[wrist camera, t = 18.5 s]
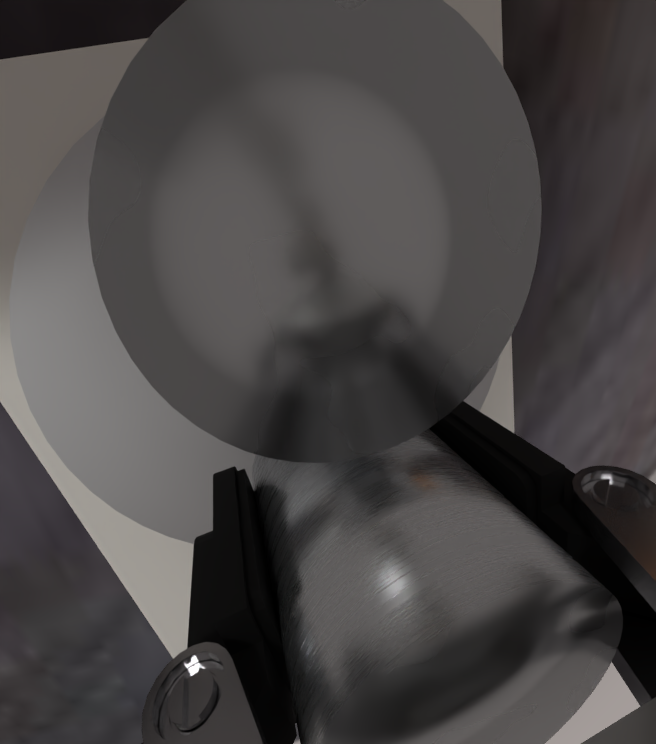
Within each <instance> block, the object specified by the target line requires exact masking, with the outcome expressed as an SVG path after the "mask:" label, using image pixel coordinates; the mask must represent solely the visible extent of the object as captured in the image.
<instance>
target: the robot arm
mask: <svg viewBox="0 0 656 744" xmlns="http://www.w3.org/2000/svg"><path fill="white" fill-rule="evenodd" d="M429 429H430V430H431V431H432V432H433V433H434V434H436V435H437V436H438V437H439V438H440V439H441V440H442V441H443V442H444V443H446V444H447V445H448V446H449V447H450V448H451V449H452V450H453V451H454V452H456V453H457V454H458V455H459V456H460V457H461V458H462V459H463V460H464V461H465V462H467V463H468V464H469V465H470V466H471V467H472V468H473V469H474V470H475V471H477V472H478V473H479V474H480V475H481V476H482V477H483V478H484V479H485V480H487V481H488V482H489V483H490V484H491V485H492V486H493V487H494V488H495V489H497V490H498V491H499V492H500V493H501V494H502V495H503V496H504V497H505V498H507V499H508V500H509V501H510V502H511V503H512V504H513V505H514V506H515V507H517V508H518V509H519V510H520V511H521V512H522V513H523V514H524V515H525V516H527V517H528V518H529V519H530V520H531V521H532V522H533V523H534V524H535V525H537V526H538V527H539V528H540V529H541V530H542V531H543V532H544V533H545V534H547V535H548V536H549V537H550V538H551V539H552V540H553V541H554V542H555V543H557V544H558V545H559V546H560V547H561V548H562V549H563V550H564V551H565V552H567V553H568V554H569V555H570V556H571V557H572V558H573V559H574V560H575V561H577V562H578V563H579V564H580V565H581V566H582V567H583V568H584V569H585V570H587V571H588V572H589V573H590V574H591V575H592V576H593V577H594V578H595V579H597V580H598V581H599V582H600V583H601V584H602V585H603V586H604V587H605V588H607V589H608V590H609V591H610V592H611V593H612V594H613V595H614V596H615V597H616V598H617V600H618V602H619V604H620V606H621V609H622V615H623V629H622V634H621V638H620V642H619V645H618V647H617V650H616V653H615V655H614V657H613V659H612V663H613V664H614V666H615V667H616V669H617V671H618V672H619V674H620V675H621V677H622V678H623V680H624V681H625V683H626V685H627V686H628V687H629V689H630V691H631V692H632V694H633V695H634V697H635V698H636V700H637V701H638V703H639V705H640V706H641V707H639V708H638V709H636V710H634V711H633V712H631V713H630V714H628V715H626V716H625V717H623V718H622V719H620V720H618V721H617V722H615V723H614V724H612V725H610V726H609V727H607V728H605V729H604V730H602V731H601V732H599V733H597V734H596V735H594V736H593V737H591V738H589V739H588V740H586V741H585V742H583V743H581V744H656V484H655V483H653V482H652V481H650V480H649V479H647V478H645V477H644V476H642V475H640V474H637V473H635V472H633V471H630V470H627V469H623V468H619V467H612V466H592V467H588V468H585V469H582V470H580V471H579V472H578V473H576V474H574V473H573V472H571V471H570V470H568V469H567V468H565V466H564V465H563V464H561V463H560V462H558V461H556V460H555V459H553V458H552V457H550V456H549V455H547V454H545V453H544V452H542V451H541V450H539V449H538V448H536V447H534V446H533V445H531V444H530V443H528V442H527V441H525V440H524V439H522V438H520V437H519V436H517V435H516V434H514V433H513V432H511V431H509V430H508V429H506V428H505V427H503V426H502V425H500V424H499V423H497V422H495V421H494V420H492V419H491V418H489V417H488V416H486V415H484V414H483V413H481V412H480V411H478V410H477V409H475V408H474V407H472V406H470V405H469V404H467V403H466V402H464V401H462V402H461V403H460V404H459V405H458V406H457V407H456V408H455V409H453V410H452V411H451V412H450V413H449V414H448V415H446V416H445V417H444V418H442V419H441V420H440V421H438V422H437V423H436V424H434V425H433V426H432V427H430V428H429ZM295 723H297V721H296V716H295V711H294V706H293V700H292V695H291V690H290V684H289V679H288V674H287V668H286V663H285V658H284V652H283V645H282V640H281V634H280V629H279V624H278V618H277V613H276V607H275V602H274V597H273V591H272V586H271V580H270V575H269V570H268V564H267V559H266V554H265V548H264V543H263V537H262V532H261V527H260V521H259V516H258V510H257V505H256V500H255V494H254V490H253V488H252V485H251V483H250V480H249V478H248V475H247V473H246V471H245V469H242V470H239V471H237V469H236V467H235V466H234V467H231V468H228V469H225V470H223V471H220V472H217V473H215V474H213V531H210V532H208V533H205V534H203V535H200V536H198V537H196V538H195V541H194V549H193V564H192V580H191V596H190V612H189V627H188V643H187V649H186V650H184V651H182V652H181V653H179V654H178V655H177V656H176V657H175V658H174V659H173V660H171V661H170V662H169V663H168V664H167V665H166V667H165V668H164V669H163V671H162V672H161V673H160V674H159V676H158V677H157V678H156V680H155V682H154V684H153V686H152V688H151V690H150V692H149V693H148V695H147V699H146V702H145V706H144V709H143V712H142V738H143V743H142V744H293V743H294V740H295V738H296V736H297V734H296V728H295Z"/></svg>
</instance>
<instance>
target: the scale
mask: <svg viewBox="0 0 656 744" xmlns="http://www.w3.org/2000/svg"><path fill="white" fill-rule="evenodd" d="M443 1H444V2H446V3H447V4H448V5H449V6H451V7H452V8H453V9H455V10H456V11H457V12H458V13H459V14H460V15H461V16H462V17H463V18H464V19H465V20H466V21H467V22H468V23H469V24H470V25H471V26H472V27H473V28H474V29H475V30H476V32H477V33H478V34H479V35H480V36H481V37H482V38H483V39H484V41H485V42H486V44H487V45H488V46H489V48H490V49H491V51H492V52H493V53H494V55H495V56H496V58H497V59H498V60H499V62H500V63H501V65H502V66H503V44H502V12H501V0H443ZM147 40H148V38H145V39H138V40H131V41H124V42H117V43H111V44H104V45H97V46H90V47H83V48H76V49H69V50H63V51H56V52H49V53H42V54H35V55H28V56H21V57H15V58H8V59H1V60H0V402H1V404H2V405H3V406H4V408H5V409H6V411H7V412H8V414H9V415H10V417H11V418H12V420H13V421H14V423H15V424H16V426H17V427H18V429H19V430H20V432H21V433H22V435H23V436H24V438H25V439H26V441H27V442H28V444H29V445H30V447H31V448H32V450H33V451H34V453H35V454H36V455H37V457H38V458H39V460H40V461H41V463H42V464H43V466H44V467H45V469H46V470H47V472H48V473H49V475H50V476H51V478H52V479H53V481H54V482H55V484H56V485H57V487H58V488H59V490H60V491H61V493H62V494H63V496H64V497H65V499H66V500H67V502H68V503H69V505H70V506H71V507H72V509H73V510H74V512H75V513H76V515H77V516H78V518H79V519H80V521H81V522H82V524H83V525H84V527H85V528H86V530H87V531H88V533H89V534H90V536H91V537H92V539H93V540H94V542H95V543H96V545H97V546H98V548H99V549H100V551H101V552H102V554H103V555H104V556H105V558H106V559H107V561H108V562H109V564H110V565H111V567H112V568H113V570H114V571H115V573H116V574H117V576H118V577H119V579H120V580H121V582H122V583H123V585H124V586H125V588H126V589H127V591H128V592H129V594H130V595H131V597H132V598H133V600H134V601H135V603H136V604H137V605H138V607H139V608H140V610H141V611H142V613H143V614H144V616H145V617H146V619H147V620H148V622H149V623H150V625H151V626H152V628H153V629H154V631H155V632H156V634H157V635H158V637H159V638H160V640H161V641H162V643H163V644H164V646H165V647H166V649H167V650H168V652H169V653H170V655H171V656H172V657H173V659H174V658H175V657H176V656H177V655H178V654H179V653H181V652H182V651H184V650H186V649H187V643H188V627H189V612H190V596H191V580H192V564H193V549H194V541H195V538H196V537H198V536H200V535H203V534H205V533H208V532H210V531H213V474H215V473H217V472H220V471H223V470H225V469H228V468H231V467H234V466H235V467H236V469H237V471H239V470H242V469H245V471H246V473H247V475H248V478H249V480H250V483H251V485H252V469H253V463H254V459H255V456H256V454H253V453H250V452H246V451H244V450H241V449H239V448H237V447H235V446H232V445H230V444H228V443H225V442H223V441H221V440H219V439H217V438H216V437H214V436H212V435H210V434H209V433H207V432H205V431H204V430H202V429H200V428H199V427H197V426H196V425H194V424H193V423H192V422H190V421H189V420H188V419H187V418H185V417H184V416H183V415H181V414H180V413H179V412H178V411H176V410H175V409H174V408H173V407H172V406H171V405H170V404H169V403H168V402H167V401H166V400H165V399H164V398H163V397H162V396H161V395H160V394H159V393H158V392H157V391H156V390H155V389H154V388H153V387H152V386H151V385H150V383H149V382H148V381H147V379H146V378H145V377H144V375H143V374H142V373H141V371H140V370H139V369H138V367H137V366H136V365H135V364H134V362H133V361H132V359H131V358H130V356H129V354H128V352H127V351H126V349H125V347H124V345H123V343H122V342H121V340H120V338H119V336H118V335H117V333H116V331H115V329H114V326H113V324H112V321H111V319H110V316H109V314H108V312H107V309H106V307H105V304H104V302H103V299H102V296H101V292H100V288H99V284H98V281H97V277H96V273H95V269H94V265H93V261H92V252H91V243H90V234H89V224H88V210H89V180H90V175H91V169H92V164H93V158H94V153H95V147H96V141H97V138H98V135H99V132H100V129H101V126H102V123H103V120H104V117H105V114H106V111H107V108H108V105H109V103H110V100H111V98H112V96H113V94H114V92H115V90H116V88H117V86H118V85H119V83H120V81H121V79H122V77H123V75H124V73H125V71H126V69H127V67H128V66H129V64H130V62H131V61H132V59H133V58H134V57H135V55H136V54H137V53H138V52H139V50H140V49H141V48H142V46H143V45H144V44H145V42H146V41H147ZM463 401H464V402H466V403H467V404H469V405H470V406H472V407H474V408H475V409H477V410H478V411H480V412H481V413H483V414H484V415H486V416H488V417H489V418H491V419H492V420H494V421H495V422H497V423H499V424H500V425H502V426H503V427H505V428H506V429H508V430H509V431H511V432H513V433H514V402H513V370H512V337H510V339H509V341H508V342H507V344H506V346H505V347H504V349H503V351H502V352H501V354H500V356H499V357H498V359H497V361H496V362H495V363H494V365H493V366H492V368H491V369H490V370H489V372H488V373H487V374H486V376H485V377H484V378H483V380H482V381H481V382H480V383H479V384H478V385H477V386H476V388H475V389H474V390H473V391H472V392H471V393H470V394H469V395H468V396H467V398H466V399H464V400H463Z"/></svg>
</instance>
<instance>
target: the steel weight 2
mask: <svg viewBox="0 0 656 744" xmlns="http://www.w3.org/2000/svg"><path fill="white" fill-rule="evenodd" d="M252 488H253V490H254V494H255V500H256V505H257V510H258V516H259V521H260V527H261V532H262V537H263V543H264V548H265V554H266V559H267V564H268V570H269V575H270V580H271V586H272V591H273V597H274V602H275V607H276V613H277V618H278V624H279V629H280V634H281V640H282V645H283V652H284V658H285V663H286V668H287V674H288V679H289V684H290V690H291V695H292V700H293V706H294V711H295V716H296V721H297V727H298V732H299V737H300V743H301V744H545V743H546V742H547V741H548V740H549V739H550V738H551V737H552V736H553V735H554V734H555V733H556V732H558V731H559V729H560V728H561V727H562V726H563V725H564V724H565V723H566V722H567V721H568V720H569V719H570V718H571V717H572V716H573V715H574V714H575V713H576V712H577V710H578V709H579V708H580V707H581V706H582V704H583V703H584V702H585V700H586V699H587V698H588V697H589V696H590V695H591V693H592V692H593V690H594V689H595V688H596V686H597V684H598V683H599V682H600V680H601V678H602V677H603V676H604V674H605V672H606V671H607V669H608V667H609V665H610V663H611V661H612V659H613V657H614V655H615V653H616V650H617V647H618V645H619V642H620V638H621V634H622V629H623V615H622V609H621V606H620V604H619V602H618V600H617V598H616V597H615V596H614V595H613V594H612V593H611V592H610V591H609V590H608V589H607V588H605V587H604V586H603V585H602V584H601V583H600V582H599V581H598V580H597V579H595V578H594V577H593V576H592V575H591V574H590V573H589V572H588V571H587V570H585V569H584V568H583V567H582V566H581V565H580V564H579V563H578V562H577V561H575V560H574V559H573V558H572V557H571V556H570V555H569V554H568V553H567V552H565V551H564V550H563V549H562V548H561V547H560V546H559V545H558V544H557V543H555V542H554V541H553V540H552V539H551V538H550V537H549V536H548V535H547V534H545V533H544V532H543V531H542V530H541V529H540V528H539V527H538V526H537V525H535V524H534V523H533V522H532V521H531V520H530V519H529V518H528V517H527V516H525V515H524V514H523V513H522V512H521V511H520V510H519V509H518V508H517V507H515V506H514V505H513V504H512V503H511V502H510V501H509V500H508V499H507V498H505V497H504V496H503V495H502V494H501V493H500V492H499V491H498V490H497V489H495V488H494V487H493V486H492V485H491V484H490V483H489V482H488V481H487V480H485V479H484V478H483V477H482V476H481V475H480V474H479V473H478V472H477V471H475V470H474V469H473V468H472V467H471V466H470V465H469V464H468V463H467V462H465V461H464V460H463V459H462V458H461V457H460V456H459V455H458V454H457V453H456V452H454V451H453V450H452V449H451V448H450V447H449V446H448V445H447V444H446V443H444V442H443V441H442V440H441V439H440V438H439V437H438V436H437V435H436V434H434V433H433V432H432V431H431V430H430V429H427V430H425V431H423V432H422V433H420V434H418V435H417V436H415V437H413V438H412V439H410V440H408V441H405V442H403V443H401V444H399V445H397V446H394V447H392V448H390V449H387V450H384V451H381V452H378V453H375V454H372V455H369V456H366V457H361V458H356V459H351V460H346V461H338V462H326V463H303V462H290V461H284V460H278V459H271V458H267V457H264V456H260V455H257V454H256V456H255V459H254V463H253V469H252Z"/></svg>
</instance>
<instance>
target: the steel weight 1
mask: <svg viewBox="0 0 656 744" xmlns="http://www.w3.org/2000/svg"><path fill="white" fill-rule="evenodd" d="M541 214H542V207H541V184H540V176H539V169H538V162H537V156H536V150H535V147H534V143H533V139H532V135H531V131H530V127H529V124H528V121H527V118H526V116H525V113H524V110H523V108H522V105H521V103H520V100H519V98H518V95H517V93H516V91H515V89H514V87H513V85H512V83H511V81H510V80H509V78H508V76H507V74H506V72H505V70H504V68H503V66H502V65H501V63H500V62H499V60H498V59H497V58H496V56H495V55H494V53H493V52H492V51H491V49H490V48H489V46H488V45H487V44H486V42H485V41H484V39H483V38H482V37H481V36H480V35H479V34H478V33H477V32H476V30H475V29H474V28H473V27H472V26H471V25H470V24H469V23H468V22H467V21H466V20H465V19H464V18H463V17H462V16H461V15H460V14H459V13H458V12H457V11H456V10H455V9H453V8H452V7H451V6H449V5H448V4H447V3H446V2H444V1H443V0H187V1H185V2H184V3H183V4H182V5H181V6H180V7H179V8H178V9H177V10H176V11H175V12H173V13H172V14H171V15H170V16H169V17H168V18H167V19H166V20H165V21H164V22H163V23H162V24H161V25H159V26H158V27H157V28H156V29H155V30H154V32H153V33H152V34H151V36H150V37H149V38H148V40H147V41H146V42H145V44H144V45H143V46H142V48H141V49H140V50H139V52H138V53H137V54H136V55H135V57H134V58H133V59H132V61H131V62H130V64H129V66H128V67H127V69H126V71H125V73H124V75H123V77H122V79H121V81H120V83H119V85H118V86H117V88H116V90H115V92H114V94H113V96H112V98H111V100H110V103H109V105H108V108H107V111H106V114H105V117H104V120H103V123H102V126H101V129H100V132H99V135H98V138H97V141H96V147H95V153H94V158H93V164H92V169H91V175H90V180H89V210H88V224H89V234H90V243H91V252H92V261H93V265H94V269H95V273H96V277H97V281H98V284H99V288H100V292H101V296H102V299H103V302H104V304H105V307H106V309H107V312H108V314H109V316H110V319H111V321H112V324H113V326H114V329H115V331H116V333H117V335H118V336H119V338H120V340H121V342H122V343H123V345H124V347H125V349H126V351H127V352H128V354H129V356H130V358H131V359H132V361H133V362H134V364H135V365H136V366H137V367H138V369H139V370H140V371H141V373H142V374H143V375H144V377H145V378H146V379H147V381H148V382H149V383H150V385H151V386H152V387H153V388H154V389H155V390H156V391H157V392H158V393H159V394H160V395H161V396H162V397H163V398H164V399H165V400H166V401H167V402H168V403H169V404H170V405H171V406H172V407H173V408H174V409H175V410H176V411H178V412H179V413H180V414H181V415H183V416H184V417H185V418H187V419H188V420H189V421H190V422H192V423H193V424H194V425H196V426H197V427H199V428H200V429H202V430H204V431H205V432H207V433H209V434H210V435H212V436H214V437H216V438H217V439H219V440H221V441H223V442H225V443H228V444H230V445H232V446H235V447H237V448H239V449H241V450H244V451H246V452H250V453H253V454H257V455H260V456H264V457H267V458H271V459H278V460H284V461H290V462H303V463H326V462H338V461H346V460H351V459H356V458H361V457H366V456H369V455H372V454H375V453H378V452H381V451H384V450H387V449H390V448H392V447H394V446H397V445H399V444H401V443H403V442H405V441H408V440H410V439H412V438H413V437H415V436H417V435H418V434H420V433H422V432H423V431H425V430H427V429H429V428H430V427H432V426H433V425H434V424H436V423H437V422H438V421H440V420H441V419H442V418H444V417H445V416H446V415H448V414H449V413H450V412H451V411H452V410H453V409H455V408H456V407H457V406H458V405H459V404H460V403H461V402H462V401H463V400H464V399H466V398H467V396H468V395H469V394H470V393H471V392H472V391H473V390H474V389H475V388H476V386H477V385H478V384H479V383H480V382H481V381H482V380H483V378H484V377H485V376H486V374H487V373H488V372H489V370H490V369H491V368H492V366H493V365H494V363H495V362H496V361H497V359H498V357H499V356H500V354H501V352H502V351H503V349H504V347H505V346H506V344H507V342H508V341H509V339H510V337H511V335H512V333H513V331H514V328H515V326H516V324H517V322H518V320H519V318H520V316H521V313H522V310H523V307H524V305H525V302H526V299H527V296H528V294H529V290H530V287H531V283H532V279H533V275H534V271H535V267H536V262H537V255H538V249H539V243H540V231H541Z"/></svg>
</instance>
